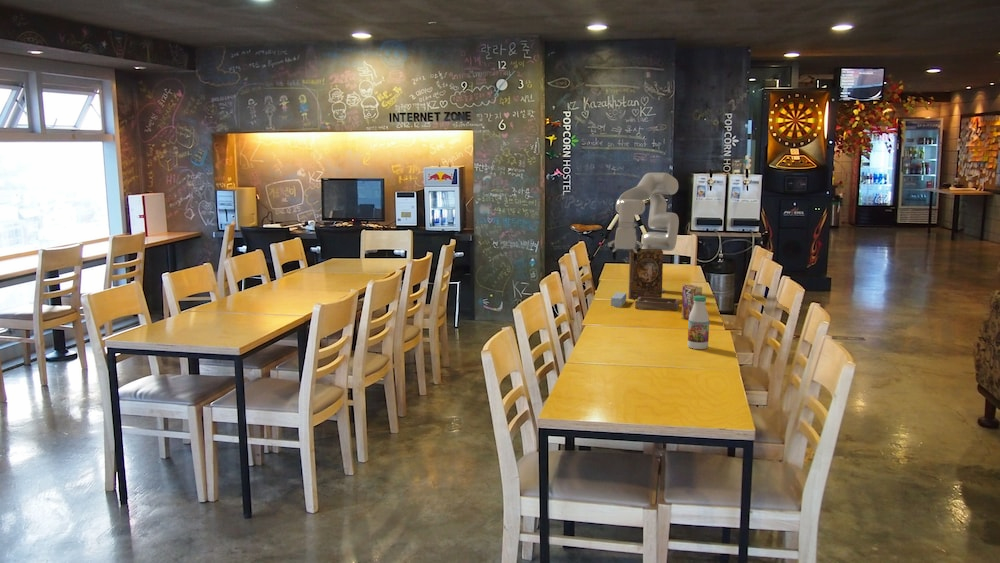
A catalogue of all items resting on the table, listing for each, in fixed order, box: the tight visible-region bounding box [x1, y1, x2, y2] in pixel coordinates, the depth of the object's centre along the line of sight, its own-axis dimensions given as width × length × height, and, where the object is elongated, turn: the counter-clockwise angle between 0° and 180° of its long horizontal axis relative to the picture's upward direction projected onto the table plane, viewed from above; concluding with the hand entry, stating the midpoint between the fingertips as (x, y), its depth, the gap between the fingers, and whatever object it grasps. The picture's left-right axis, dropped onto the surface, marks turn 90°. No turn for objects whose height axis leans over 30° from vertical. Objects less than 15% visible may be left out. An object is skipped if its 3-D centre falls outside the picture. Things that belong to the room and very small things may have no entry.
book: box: [628, 248, 664, 300], centre depth 401 cm, size 16×6×25 cm, turn 84°
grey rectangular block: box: [610, 292, 627, 308], centre depth 389 cm, size 15×5×4 cm, turn 162°
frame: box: [634, 297, 680, 312], centre depth 380 cm, size 12×19×4 cm, turn 73°
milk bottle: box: [687, 295, 710, 350], centre depth 303 cm, size 8×8×20 cm
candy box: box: [681, 283, 703, 321], centre depth 353 cm, size 9×4×15 cm, turn 26°
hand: (624, 260), depth 387 cm, fingers open, 9 cm apart
